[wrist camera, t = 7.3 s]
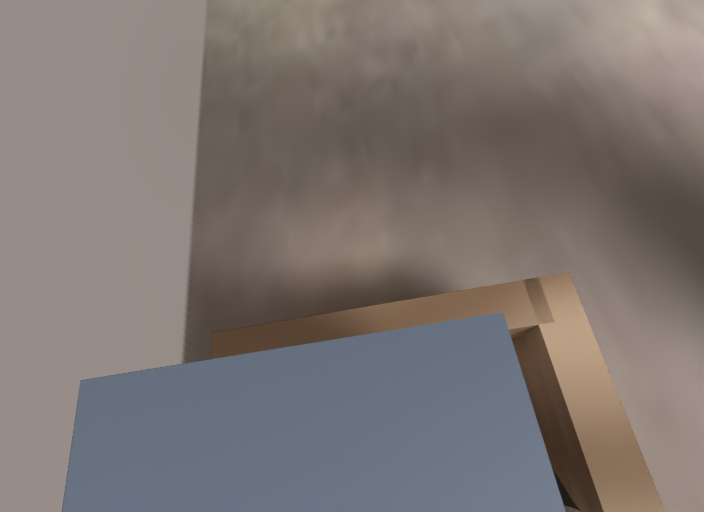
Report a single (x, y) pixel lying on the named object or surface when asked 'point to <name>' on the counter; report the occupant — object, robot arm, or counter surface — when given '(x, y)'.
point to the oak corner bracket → (537, 368)
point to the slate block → (320, 429)
